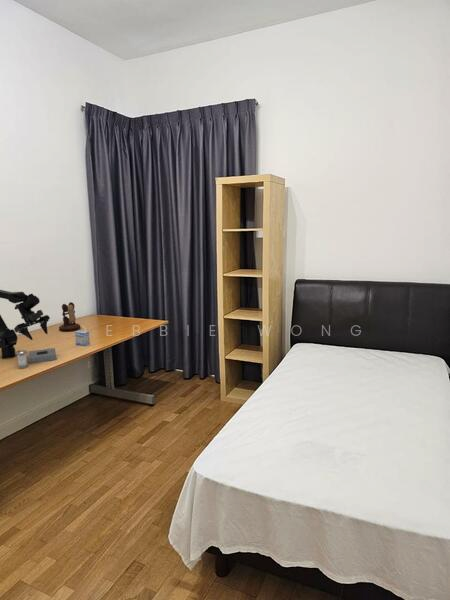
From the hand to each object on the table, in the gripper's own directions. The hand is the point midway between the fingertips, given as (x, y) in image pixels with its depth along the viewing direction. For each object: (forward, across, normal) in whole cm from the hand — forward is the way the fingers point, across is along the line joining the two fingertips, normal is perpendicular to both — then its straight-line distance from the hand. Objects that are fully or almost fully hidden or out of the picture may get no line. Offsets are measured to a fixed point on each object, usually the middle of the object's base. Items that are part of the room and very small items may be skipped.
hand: (39, 336), depth 218 cm
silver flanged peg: (+11, -12, +7) cm, 18 cm away
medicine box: (+12, +31, +15) cm, 37 cm away
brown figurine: (-6, +52, +51) cm, 73 cm away
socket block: (+10, +2, +12) cm, 16 cm away
